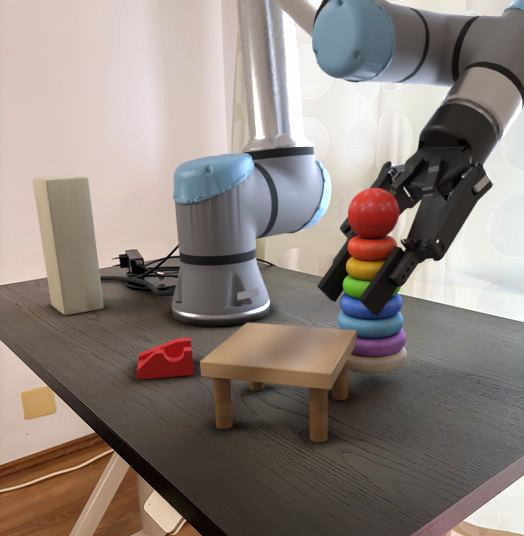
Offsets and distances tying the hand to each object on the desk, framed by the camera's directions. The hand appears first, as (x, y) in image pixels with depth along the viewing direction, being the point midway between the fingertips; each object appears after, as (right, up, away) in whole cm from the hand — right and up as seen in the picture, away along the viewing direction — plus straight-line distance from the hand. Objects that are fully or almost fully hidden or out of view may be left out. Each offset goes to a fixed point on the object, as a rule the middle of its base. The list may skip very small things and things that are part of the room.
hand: (346, 300), depth 60 cm
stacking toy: (+3, -7, +5) cm, 9 cm away
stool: (-6, -11, -2) cm, 13 cm away
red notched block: (-20, -8, +10) cm, 24 cm away
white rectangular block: (-39, +2, +38) cm, 55 cm away
